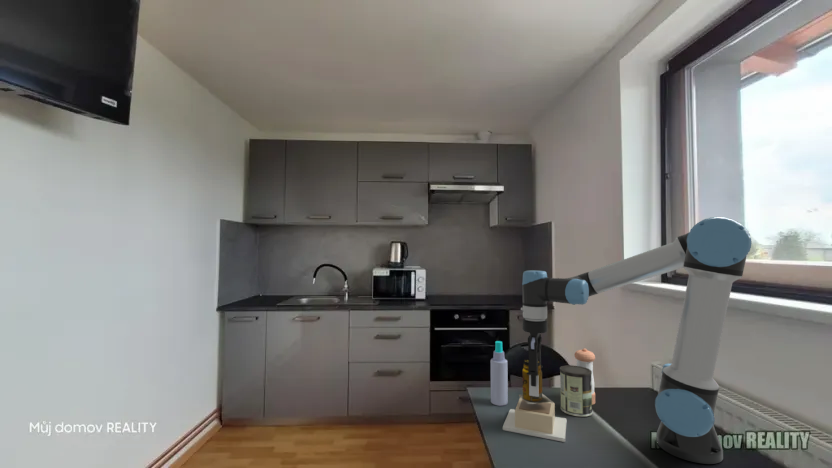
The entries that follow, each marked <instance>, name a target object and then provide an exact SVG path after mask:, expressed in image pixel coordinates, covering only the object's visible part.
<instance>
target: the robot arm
mask: <svg viewBox="0 0 832 468" xmlns="http://www.w3.org/2000/svg"><path fill="white" fill-rule="evenodd" d="M751 248H752V237H751V234H750V233H749V230H748V229H747V228H746V226H744V225H743V224H742V223H741V222H739V221H737V220H735V219H732V218H729V217H723V216H722V217H721V216H720V217H717V216H714V217H708V218H705V219H702V220H700V221H698V222H697V223H696V224H694V225H693V226H692V228H691V229H690V230H689V232H687V233H685V234H682V235H680V236H679V235H678V236H677V237H675V240H674V241H673V242H670V243H667V244H665V245H664V244H663V245H661V246H658V247H656V248H653V249H649V250H647V251H645V252H641V253H638V254H636V255H633V256H630V257H627V258H624V259H620V260H619V261H616V262H613V263H611V264H607V265H604V266H601V267H599V268H598V267H597V268H595V269H593V270H592V269H591V270H590V271H587V272H583V273H580V274H578V275H575V276H572V277H566V278H563V277H562V278H559V277H557V278H556V277H548V274H547V273H548V272H547V271H545V270H536V269H535V270H533V269H532V270H525V271H523V273H522V283H521V285H522V307H520V311H521V312H522V317H523V318H522V330H523V332H526V333H528V334H529V335H528V337H527V344H528V345H527V346H528V347H527V348H528V359H529V371H528V372H527V375H529V395H530V396H536V397H538V396H539V379H538V361H540V363H541V369H542V368H543V367H544V366H543V364H542V358H541V356H542V355H541V354H542V353H541V349H542V341H543V338H542V335H541V334H544V333H547V332H548V321H547V319H548V302H550V303H560V304H569V305H582V306H583V305H586V304H587V302H588V301H589V297H592V296H595V295H599V294H601V293H604V292H607V291H610V290H614V289H617V288H621V287H625V286H627V285H630V284H633V283H637V282H641V281H644V280H647V279H650V278H653V277H657V276H661V275H663V274H667V273H669V272H675V271H676V270H680V269H684V270H685V271H686V272H687V274H688V278H687V285H686V289H685V294H684V299H683V303H682V309H681V314H680V319H679V324H678V328H677V329H678V330H677V334H676V339H675V344H674V349H673V355H672V360H671V363H665V364H663V365H662V370H661V378H660V382H659V383H660V384H659V388H658V392H657V393H658V394H657V396H656V397H655V399H654V407H655V412H656V414H657V417H658V419H659V420H660V423H659V426H658V429H657V431H656V443H657V442H658V444H657V445H658V447H659V448H661V449H662V451H664V452H666V453H667V454H670V455H671V456H674V457H676V458H679V459H681V460H685V461H688V462H693V463H696V464H705V465H715V464H719V463H721V462H722V461H723V460H724V450H723V447H722V443H721V441H720V439H719V436H718V434H717V431H716V429H715V428H716V427H715V422H716V421H715V409H716V405H717V399H718V394H719V389H720V385H719V384H718V383H717V381H716V380H715V379H714V374H715V369H716V365H717V359H718V354H719V349H720V344H721V341H722V335H723V329H724V326H725V321H726V317H727V311H728V308H729V307H728V306H729V300H730V296H731V291H732V288H733V287H732V286H733V283H735V282H736V281H738V280H740V279H742V278H743V276H744V270H745V264H746V261H747V255H749V252H750V251H751Z"/></svg>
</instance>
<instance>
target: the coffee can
mask: <svg viewBox="0 0 832 468" xmlns="http://www.w3.org/2000/svg"><path fill="white" fill-rule="evenodd" d="M559 371H560V372H559V373H560V375H559V376H560V379H559V380H560V383H559V384H560V410H561V411H562V412H564V413H565V414H567V415H569V416H574V417H578V418H579V417H580V418H581V417H583V418H584V417H590V416H592V415H593V405H592V380H591V374H592V371H591V370H590V369H588V368H585V367H581V366H577V365H573V364H569V365H562V366H560V367H559Z"/></svg>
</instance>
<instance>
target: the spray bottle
mask: <svg viewBox="0 0 832 468" xmlns="http://www.w3.org/2000/svg"><path fill="white" fill-rule="evenodd" d="M494 343H495V346H494V347H495V350H493V353H492V354H493V357H492V358H491V359H490V403H491V404H493V405H495V406H498V407H504V406H506V405H508V402H509V401H508V400H509V398H508V397H509V396H508V395H509V394H508V393H509V392H508V390H509V389H508V387H509V386H508V382H509V381H508V380H509V379H508V371H509V370H508V359H506V358H505V351H504V350H503V341H501V340H496V341H495V342H494Z"/></svg>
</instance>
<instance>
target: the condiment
mask: <svg viewBox="0 0 832 468" xmlns="http://www.w3.org/2000/svg"><path fill="white" fill-rule="evenodd" d="M541 365H542V362H541V363H540V361H538V379H539V396H538V397H536V396H530V395H529V375H527V372H528V371H529V358H527V359H524V360H523V367H522V372H521V373H522V394H518V396H519V398H522V399H523V400H524V401H525V402H526V403H528V404H534V403H535V404H537V403H548V402H552V403H554V401H553V400H551V399H550V398H549V397H547V396H546V395H545V394H543V370H542V368H541Z"/></svg>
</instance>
